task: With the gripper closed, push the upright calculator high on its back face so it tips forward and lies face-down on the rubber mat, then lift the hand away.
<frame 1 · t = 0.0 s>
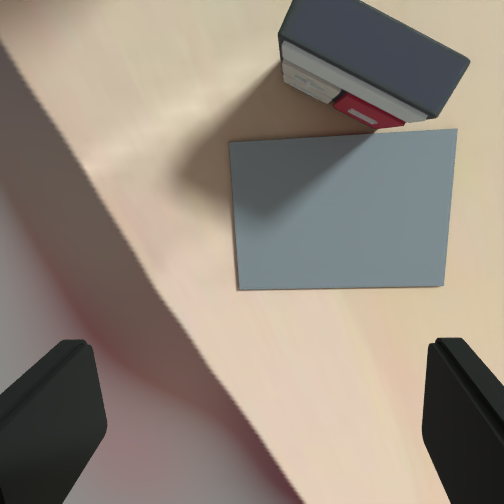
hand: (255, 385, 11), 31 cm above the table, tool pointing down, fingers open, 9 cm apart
mat: (338, 215, 40), on the table
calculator: (338, 87, 37), on the table
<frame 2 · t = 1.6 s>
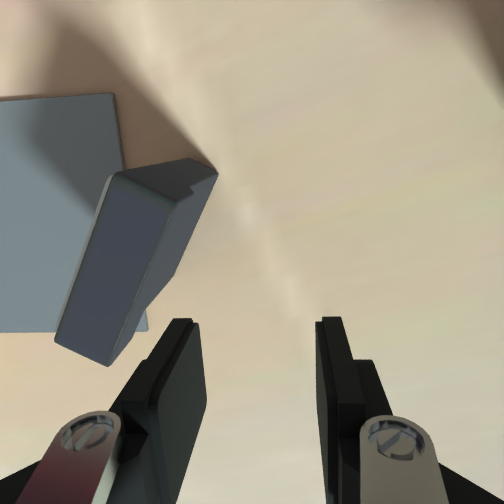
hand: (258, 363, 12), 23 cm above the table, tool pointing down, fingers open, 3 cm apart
mat: (51, 224, 36), on the table
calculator: (180, 219, 35), on the table
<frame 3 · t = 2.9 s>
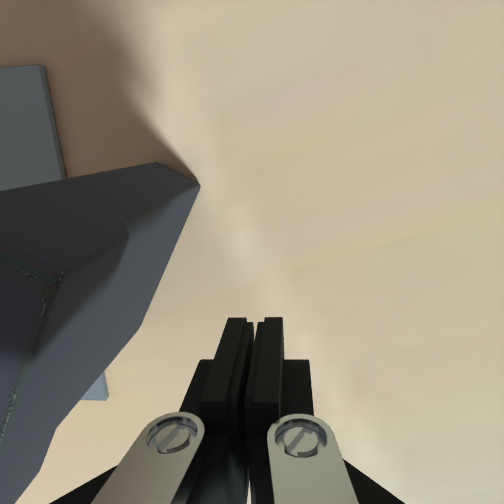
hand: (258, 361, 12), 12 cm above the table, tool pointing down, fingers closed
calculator: (148, 249, 24), on the table
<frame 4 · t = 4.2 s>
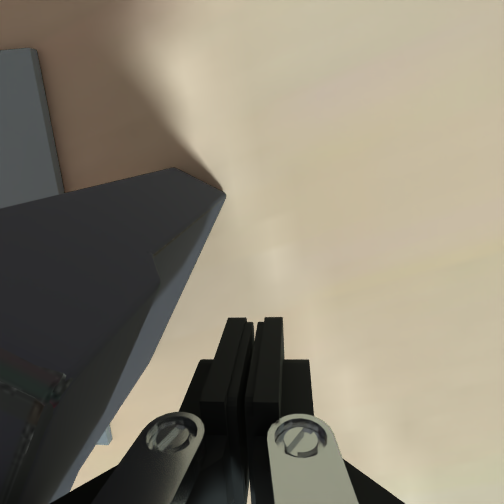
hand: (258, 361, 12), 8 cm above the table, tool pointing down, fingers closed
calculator: (161, 270, 20), on the table
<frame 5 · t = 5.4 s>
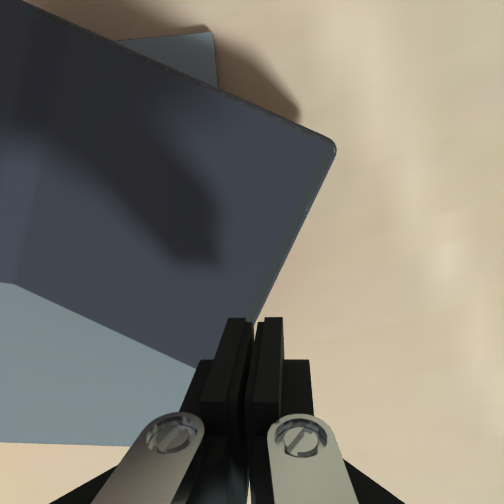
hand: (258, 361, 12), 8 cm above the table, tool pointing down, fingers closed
mat: (86, 274, 21), on the table
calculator: (284, 267, 16), point 3 cm above the table, touching mat
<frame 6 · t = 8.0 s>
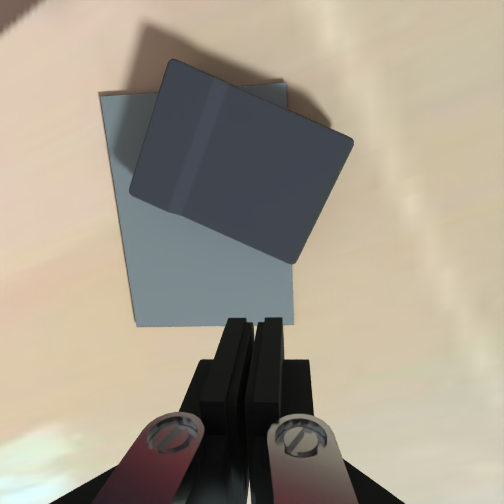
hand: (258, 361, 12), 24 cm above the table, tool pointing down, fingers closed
mat: (204, 217, 36), on the table
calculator: (325, 205, 31), point 3 cm above the table, touching mat
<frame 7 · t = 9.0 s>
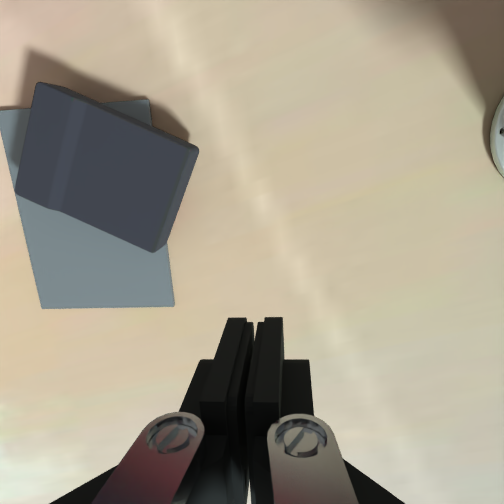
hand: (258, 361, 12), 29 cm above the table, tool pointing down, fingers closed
mat: (91, 213, 42), on the table
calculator: (179, 202, 37), point 3 cm above the table, touching mat
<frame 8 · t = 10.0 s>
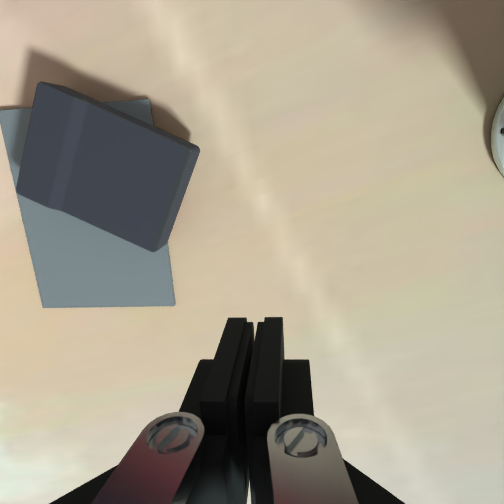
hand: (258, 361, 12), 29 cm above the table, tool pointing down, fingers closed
mat: (92, 212, 42), on the table
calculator: (180, 202, 37), point 3 cm above the table, touching mat
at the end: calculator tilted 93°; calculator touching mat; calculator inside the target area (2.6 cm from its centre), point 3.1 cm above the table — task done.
